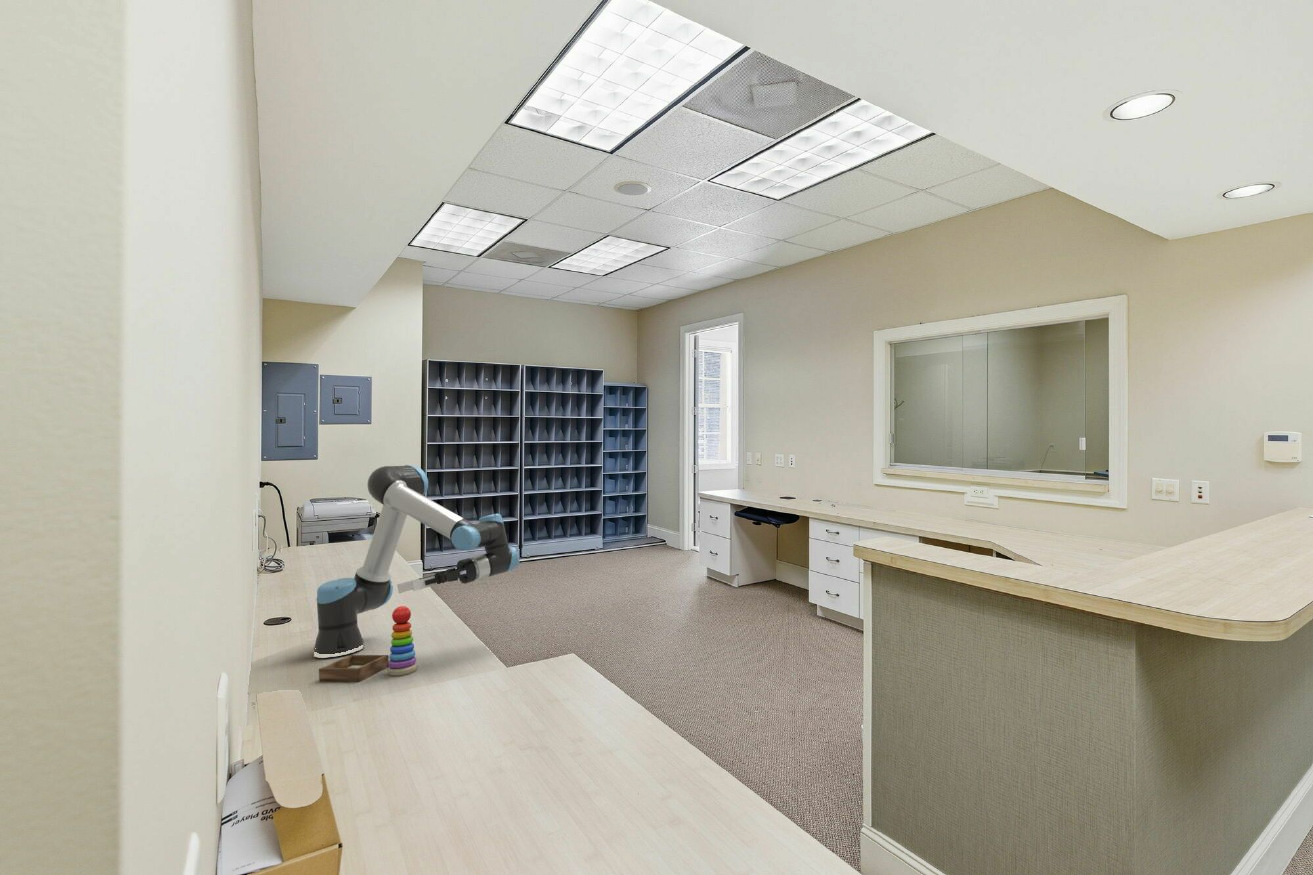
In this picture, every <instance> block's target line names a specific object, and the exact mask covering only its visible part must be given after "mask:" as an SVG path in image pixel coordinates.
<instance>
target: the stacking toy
mask: <svg viewBox="0 0 1313 875" xmlns="http://www.w3.org/2000/svg"><path fill="white" fill-rule="evenodd" d="M411 616H412V611H411V609H410V608H409V607H407V606H404V605H402V606H401V605H400V606H397V607H396V608H394V610H393V611H392V615H391V619H392V620H393V622H394V624H393V625H392V631H393V632H392V633H391V638H392V639H391V641H390V644H391V646H390V647H389V651H390V654H388V656H389V662H388V666H389V667H388V668H387V674H388V675H389V676H394V677H396V676H397V677H399V676H405V675H409V674H412V673H414V672H416V671H417V669H418V663H417V662H416V661H417V658H416V650H415V649H414V648H415V644H414V643H413V642H414V638H413V636H412V634H413V632H412V630H411V628H412V624H411V622H410V621H409V620H410V619H411Z"/></svg>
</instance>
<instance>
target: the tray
mask: <svg viewBox="0 0 1313 875" xmlns="http://www.w3.org/2000/svg"><path fill="white" fill-rule="evenodd" d="M389 661H390V658H389V654H350V655H347V656H344V658H340V659H339V660H336V661H334V662H332V663H330V664H327V665H325V666H322V667H320V668H318V680H319V682H322V683H323V682H324V683H325V682H330V683H333V682H334V683H335V682H337V683H338V682H339V683H360V682H361V681H363V680H365V679H368V678H369V677H371V676H373V675H375V674H377V673H379V672H381V671H383V670H385V669H388V668H389V666H388V662H389Z"/></svg>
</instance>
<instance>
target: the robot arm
mask: <svg viewBox="0 0 1313 875" xmlns="http://www.w3.org/2000/svg"><path fill="white" fill-rule="evenodd" d="M367 489H368V493H369V495H370V496H371V497H372V498H373V499H374V500H375V501H377V502H378V503H379V504H382V508H381V511H380V514H379V516H378V520H377V522H376V526H375V529H374V532H373V535H372V538H371V541H370V544H369V547H368V550H367V553H366V556H365V559H364V562H363V565H362V566H360V567H359V568H356V569H357V570H356V572H355V574H354V578H353V577H343V578H341V577H340V578H337V579H333V580H330V581H329V580H328V581H326V582H324V583H322V584H321V585H319V586H318V588H317V590H316V605H317V606H316V610H317V625H318V632H317V635H316V639H315V643H314V644H315V645H314V647H313V650H314V652H317V653H319V654H335V653H341V652H346V651H348V650H352V649H354V648H358V647H359V646H361V645H363V643H364V644H365V640H364V638H363V637H362V633H361V630H360V628H359V626H358V625H359V624H358V615H359V614H362V613H365V612H368V611H371V610H373V611H374V610H376V609H378V608H380V607H383V606H385V605H386V604H387V603H388V602H389V600H390V599H391V597H392V595H393V594H394V593H393V592H394V585H392V584H393V581H392V579H391V578H392V576H391V574H390V572H389V570H390V567H391V564H392V561H393V559H394V555H395V553H396V550H397V547H398V544H399V540H400V538H401V535H402V532H403V528H404V526H405V523H406V519H407V517H408V516H410V517H411V518H413V519H414V520H416V521H417V522H419V523H421V524H423V525H425V526H426V527H429V528H430V529H432V530H434V531H436V532H437V533H439V534H440V535H443V536H444V537H446V538H447V539H449V540H450V541H451V544H452V545H453V547H454V548H455V549H457V550H459V551H463V552H464V551H471V550H474V549H477V548H478V549H479V548H481V547H484V549H485V550H484V551H485V553H482V554H478V555H474V556H471V557H467V558H463V559H460V560H458V561H457V562H456V566H455V567H452V568H449V569H448V568H447V569H446V570H443V571H439V572H435V573H434V574H433V575H429V576H425V577H420V578H416V579H414V580H408V581H405V582H401V583H399V584H397V590H398V593H399V594H402V593H405V592H410V591H413V592H416V591H419V590H423V589H426V588H429V587H433V586H436V585H441V584H444V583H447V582H448V583H450V582H455V581H458V580H459V581H460V582H461V584H468V583H471V582H475V581H479V580H482V581H485V580H486V578H489V577H493V576H495V575H499V574H500V575H501V574H504V573H507V572H509V571H513V570H515V569H516V568H518V566H519V564H520V555H519V553H518V550H517V549H516V548H515V547H513V546H510V545H509V543H508V537H507V533H506V528H505V523H504V521H503V517H502V515H501V514H500V513H495V514H494V513H493V514H489V515H486V516H482V517H480V518H478V522H477V523H473V522H471V521H469V520H467V519H465V518H464V517H462V516H460V515H458V514H456V513H455V512H453V511H451V510H450V509H448V508H447V507H445V506H442V505H440V504H439V503H437V502H435V501H434V500H432V499H430V498H429V497H426V496H425V494H427V491H428V489H429V479H428V477H427V474H426V473H425V471H424V470H423V469H422V468H420V467H418V466H415V465H408V464H406V465H385V466H379V467H378V468H376V469H374V471H372V472H371V474H370V475H369V476H368V480H367ZM315 648H316V649H315ZM313 650H312V651H313Z"/></svg>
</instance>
